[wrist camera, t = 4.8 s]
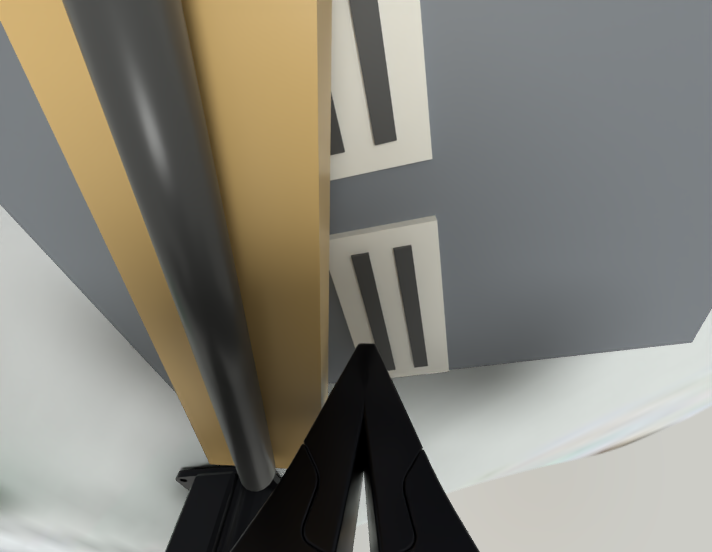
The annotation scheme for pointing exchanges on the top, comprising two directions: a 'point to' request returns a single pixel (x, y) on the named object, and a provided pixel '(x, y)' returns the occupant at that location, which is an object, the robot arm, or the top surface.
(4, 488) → the top surface
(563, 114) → the panel
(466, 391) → the top surface
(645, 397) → the top surface
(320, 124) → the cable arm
